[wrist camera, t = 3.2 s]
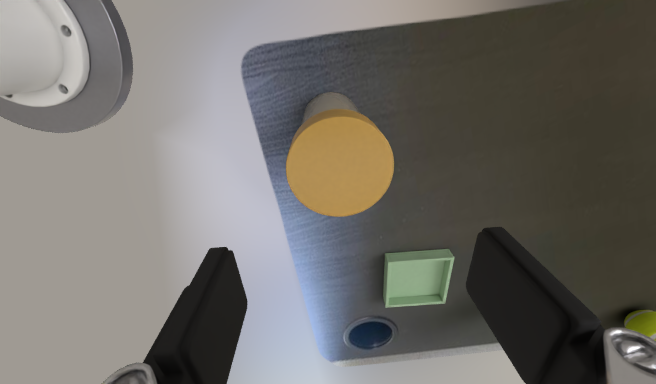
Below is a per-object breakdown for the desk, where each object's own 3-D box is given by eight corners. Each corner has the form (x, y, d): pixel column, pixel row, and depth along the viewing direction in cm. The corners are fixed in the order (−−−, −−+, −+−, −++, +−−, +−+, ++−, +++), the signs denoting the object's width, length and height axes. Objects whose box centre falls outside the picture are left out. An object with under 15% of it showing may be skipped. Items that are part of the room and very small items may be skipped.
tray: (382, 297, 46) (385, 307, 44) (384, 253, 41) (387, 262, 39) (440, 293, 46) (445, 303, 44) (448, 248, 41) (454, 257, 39)
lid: (294, 203, 23) (292, 220, 20) (281, 112, 19) (277, 120, 17) (384, 196, 23) (391, 213, 20) (387, 104, 19) (397, 112, 17)
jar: (306, 150, 33) (298, 210, 21) (300, 94, 30) (286, 124, 18) (359, 146, 33) (384, 204, 21) (358, 90, 30) (387, 117, 18)
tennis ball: (606, 316, 50) (645, 352, 44) (643, 296, 48) (689, 330, 42) (622, 330, 52) (661, 366, 46) (658, 311, 50) (704, 346, 44)
